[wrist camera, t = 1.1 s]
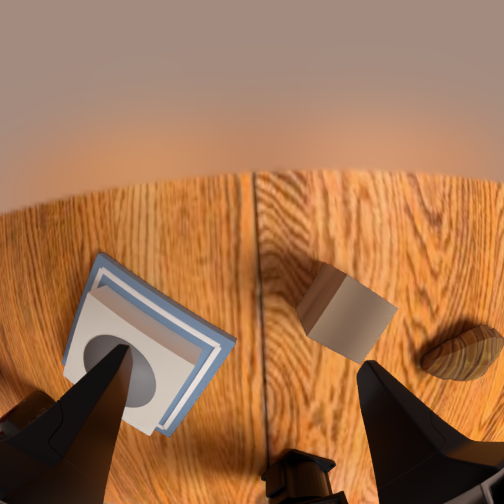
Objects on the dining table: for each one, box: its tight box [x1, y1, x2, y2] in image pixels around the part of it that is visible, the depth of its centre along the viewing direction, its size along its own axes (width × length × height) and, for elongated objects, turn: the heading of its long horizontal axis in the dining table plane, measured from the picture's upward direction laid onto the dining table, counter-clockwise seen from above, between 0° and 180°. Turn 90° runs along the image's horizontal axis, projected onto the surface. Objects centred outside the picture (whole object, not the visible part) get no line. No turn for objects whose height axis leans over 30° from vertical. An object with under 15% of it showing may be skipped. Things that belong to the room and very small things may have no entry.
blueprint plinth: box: [62, 252, 237, 438], centre depth 21 cm, size 14×14×4 cm
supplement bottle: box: [0, 391, 55, 441], centre depth 19 cm, size 7×7×12 cm
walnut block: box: [296, 263, 398, 364], centre depth 19 cm, size 4×4×6 cm
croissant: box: [421, 325, 504, 381], centre depth 20 cm, size 14×7×5 cm, turn 91°
